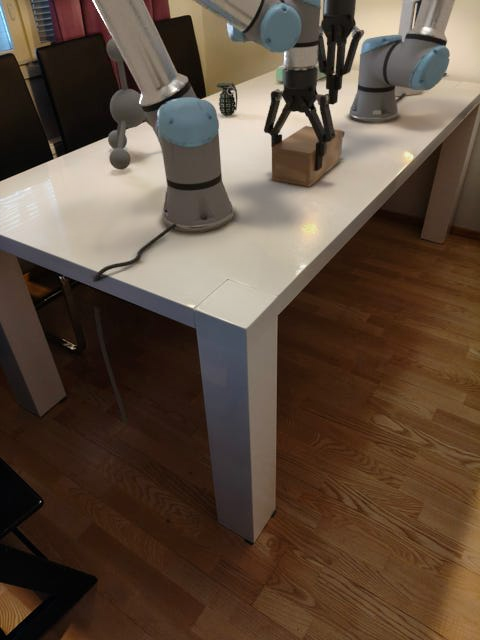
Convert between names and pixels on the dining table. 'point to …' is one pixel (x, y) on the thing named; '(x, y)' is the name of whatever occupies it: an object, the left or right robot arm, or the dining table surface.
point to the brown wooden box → (303, 157)
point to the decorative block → (280, 70)
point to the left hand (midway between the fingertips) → (297, 165)
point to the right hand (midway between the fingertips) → (332, 102)
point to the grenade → (227, 99)
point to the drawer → (341, 141)
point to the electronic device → (405, 27)
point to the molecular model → (123, 112)
